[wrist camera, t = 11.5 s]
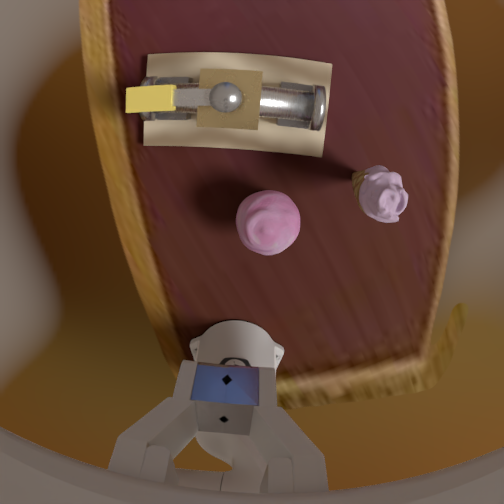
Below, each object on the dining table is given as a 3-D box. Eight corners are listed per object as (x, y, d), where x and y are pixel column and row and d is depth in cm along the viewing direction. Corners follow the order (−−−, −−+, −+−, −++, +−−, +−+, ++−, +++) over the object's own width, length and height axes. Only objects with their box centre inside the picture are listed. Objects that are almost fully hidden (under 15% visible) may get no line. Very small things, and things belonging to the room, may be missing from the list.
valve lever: (243, 83, 29) (242, 82, 27) (241, 112, 31) (240, 113, 29) (133, 86, 29) (126, 86, 27) (132, 114, 30) (125, 114, 29)
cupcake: (234, 184, 46) (228, 204, 38) (292, 176, 46) (300, 194, 37) (243, 237, 50) (240, 268, 41) (297, 230, 50) (306, 260, 41)
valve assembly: (319, 155, 44) (339, 172, 33) (146, 144, 44) (113, 158, 33) (329, 65, 38) (353, 52, 27) (151, 55, 37) (118, 42, 27)
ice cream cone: (328, 164, 45) (358, 190, 31) (363, 146, 43) (406, 165, 30) (347, 201, 47) (380, 240, 34) (380, 183, 46) (424, 216, 32)
